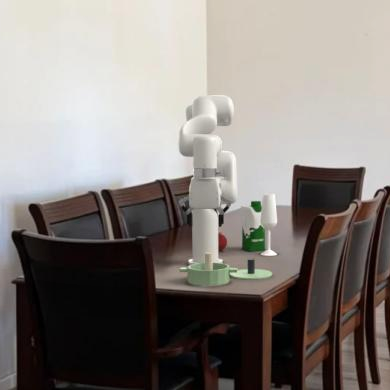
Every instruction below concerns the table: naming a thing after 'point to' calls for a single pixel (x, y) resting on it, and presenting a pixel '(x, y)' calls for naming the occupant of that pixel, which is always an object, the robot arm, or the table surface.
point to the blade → (208, 261)
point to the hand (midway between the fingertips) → (205, 226)
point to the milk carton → (252, 227)
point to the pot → (208, 274)
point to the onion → (221, 241)
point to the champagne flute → (268, 218)
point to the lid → (251, 272)
